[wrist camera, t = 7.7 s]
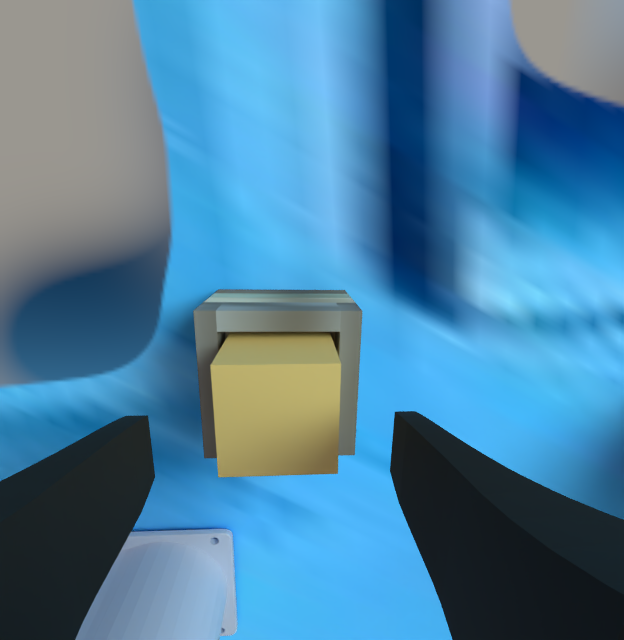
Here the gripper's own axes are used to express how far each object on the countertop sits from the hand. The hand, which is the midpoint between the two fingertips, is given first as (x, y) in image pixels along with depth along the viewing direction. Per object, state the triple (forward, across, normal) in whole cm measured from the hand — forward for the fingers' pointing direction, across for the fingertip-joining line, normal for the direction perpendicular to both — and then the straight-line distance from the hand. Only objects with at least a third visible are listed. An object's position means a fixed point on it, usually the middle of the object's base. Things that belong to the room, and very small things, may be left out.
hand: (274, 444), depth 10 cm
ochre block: (+5, 0, 0) cm, 5 cm away
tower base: (+8, 0, 0) cm, 8 cm away
